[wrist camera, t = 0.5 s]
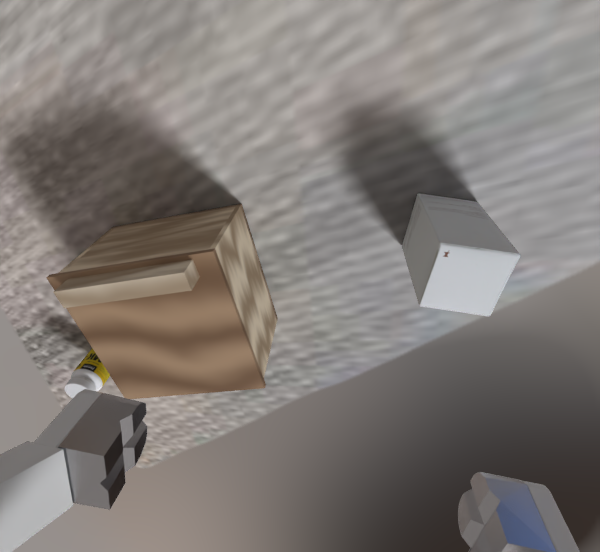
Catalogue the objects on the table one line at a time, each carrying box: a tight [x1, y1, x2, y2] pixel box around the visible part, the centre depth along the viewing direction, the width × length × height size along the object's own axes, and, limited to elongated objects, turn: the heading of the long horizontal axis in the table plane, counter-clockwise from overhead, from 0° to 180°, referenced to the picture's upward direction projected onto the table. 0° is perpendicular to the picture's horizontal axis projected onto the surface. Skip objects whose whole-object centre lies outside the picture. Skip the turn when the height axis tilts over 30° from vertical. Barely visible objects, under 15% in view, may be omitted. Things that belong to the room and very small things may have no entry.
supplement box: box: [402, 193, 520, 316], centre depth 41 cm, size 7×7×13 cm
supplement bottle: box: [65, 348, 110, 398], centre depth 60 cm, size 5×5×8 cm
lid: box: [47, 248, 266, 399], centre depth 42 cm, size 19×19×3 cm
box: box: [59, 204, 278, 378], centre depth 49 cm, size 18×18×12 cm
